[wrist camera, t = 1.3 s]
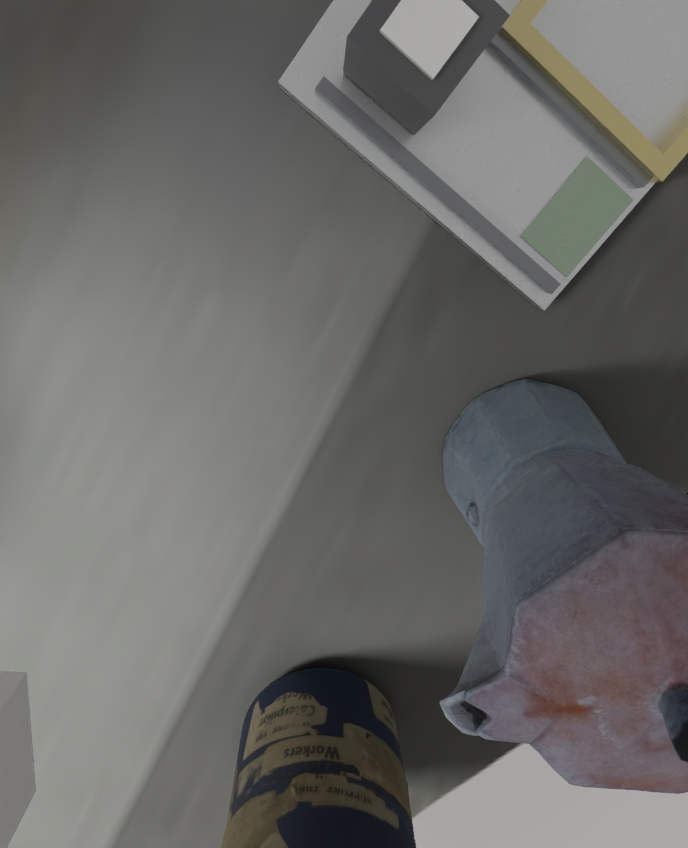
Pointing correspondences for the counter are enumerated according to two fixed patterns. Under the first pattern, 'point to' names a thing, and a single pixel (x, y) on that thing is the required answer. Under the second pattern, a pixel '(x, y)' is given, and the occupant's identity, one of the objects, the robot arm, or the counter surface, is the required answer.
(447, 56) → the breaker slider
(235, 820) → the canister
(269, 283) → the counter surface
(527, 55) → the panel
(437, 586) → the counter surface
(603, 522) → the moka pot
